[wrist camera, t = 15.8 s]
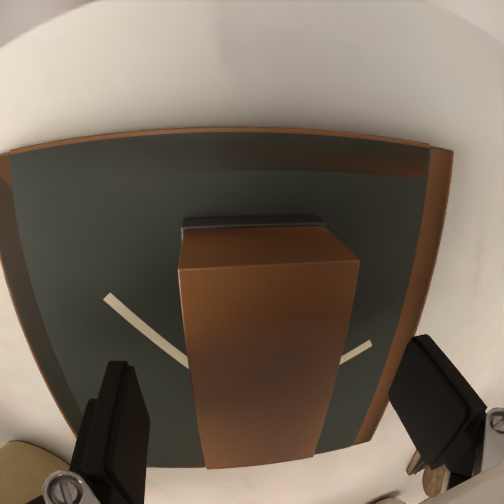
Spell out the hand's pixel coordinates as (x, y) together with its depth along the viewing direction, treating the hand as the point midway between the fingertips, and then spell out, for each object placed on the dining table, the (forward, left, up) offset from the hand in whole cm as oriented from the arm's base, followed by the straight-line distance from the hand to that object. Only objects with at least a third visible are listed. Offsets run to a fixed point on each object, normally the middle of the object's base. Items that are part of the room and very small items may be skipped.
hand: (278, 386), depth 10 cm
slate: (+2, -1, -5) cm, 6 cm away
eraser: (+1, 0, -4) cm, 4 cm away
